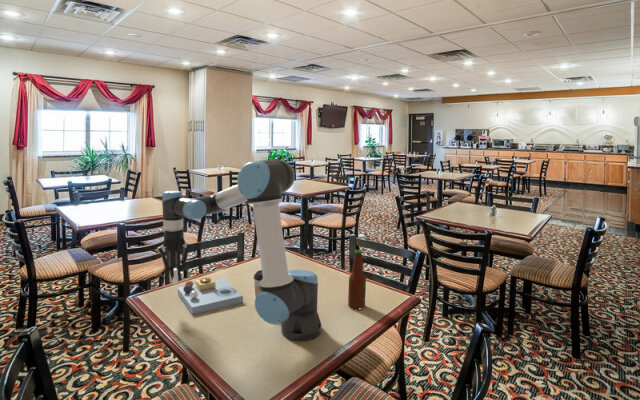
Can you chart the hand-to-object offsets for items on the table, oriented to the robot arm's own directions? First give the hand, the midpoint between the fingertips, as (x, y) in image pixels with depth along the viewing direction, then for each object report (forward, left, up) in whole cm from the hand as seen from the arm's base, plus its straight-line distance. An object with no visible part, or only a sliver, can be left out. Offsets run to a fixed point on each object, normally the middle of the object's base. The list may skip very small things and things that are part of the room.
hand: (175, 284), depth 154 cm
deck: (+4, -15, -11) cm, 19 cm away
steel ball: (0, -7, -8) cm, 11 cm away
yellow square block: (+9, -15, -8) cm, 20 cm away
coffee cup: (-15, -33, -11) cm, 38 cm away
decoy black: (+8, -7, -8) cm, 13 cm away
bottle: (-38, -66, -11) cm, 77 cm away
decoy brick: (+13, -9, -8) cm, 17 cm away
